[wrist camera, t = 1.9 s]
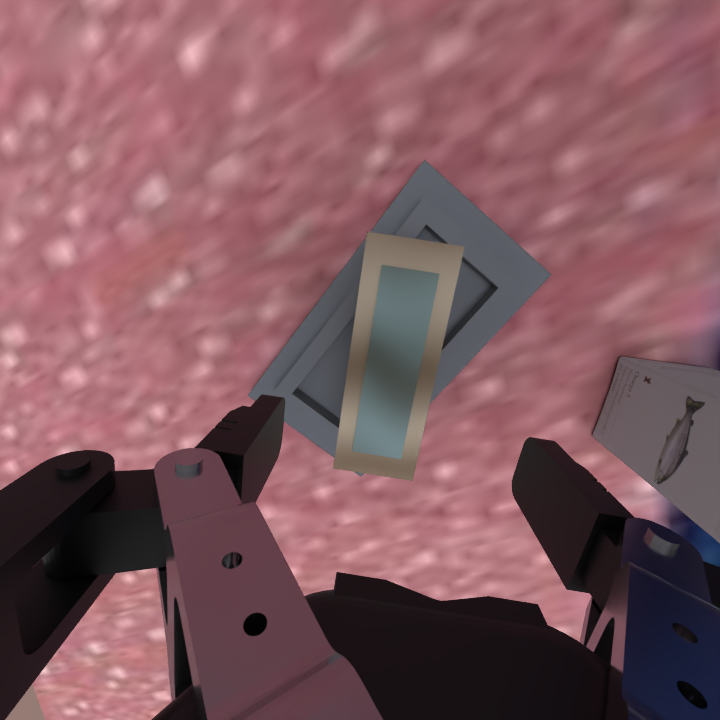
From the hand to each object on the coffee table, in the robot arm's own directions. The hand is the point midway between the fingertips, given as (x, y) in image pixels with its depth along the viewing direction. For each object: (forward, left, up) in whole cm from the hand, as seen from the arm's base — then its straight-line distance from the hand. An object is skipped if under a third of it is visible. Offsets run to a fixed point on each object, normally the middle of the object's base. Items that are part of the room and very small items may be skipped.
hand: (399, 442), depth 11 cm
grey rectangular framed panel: (0, 0, -17) cm, 17 cm away
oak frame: (0, 0, -14) cm, 14 cm away
